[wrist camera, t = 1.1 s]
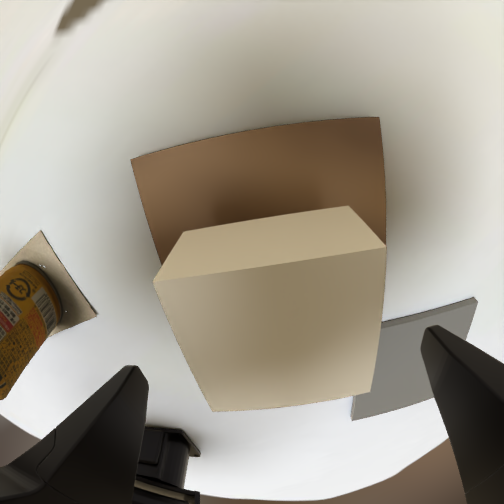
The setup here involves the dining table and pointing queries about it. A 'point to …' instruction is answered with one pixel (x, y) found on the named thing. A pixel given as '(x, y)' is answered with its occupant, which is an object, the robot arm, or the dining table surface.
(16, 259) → the condiment
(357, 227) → the tan cardboard carton
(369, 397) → the pad
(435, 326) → the robot arm
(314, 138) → the post base
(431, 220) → the dining table surface
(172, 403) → the dining table surface
